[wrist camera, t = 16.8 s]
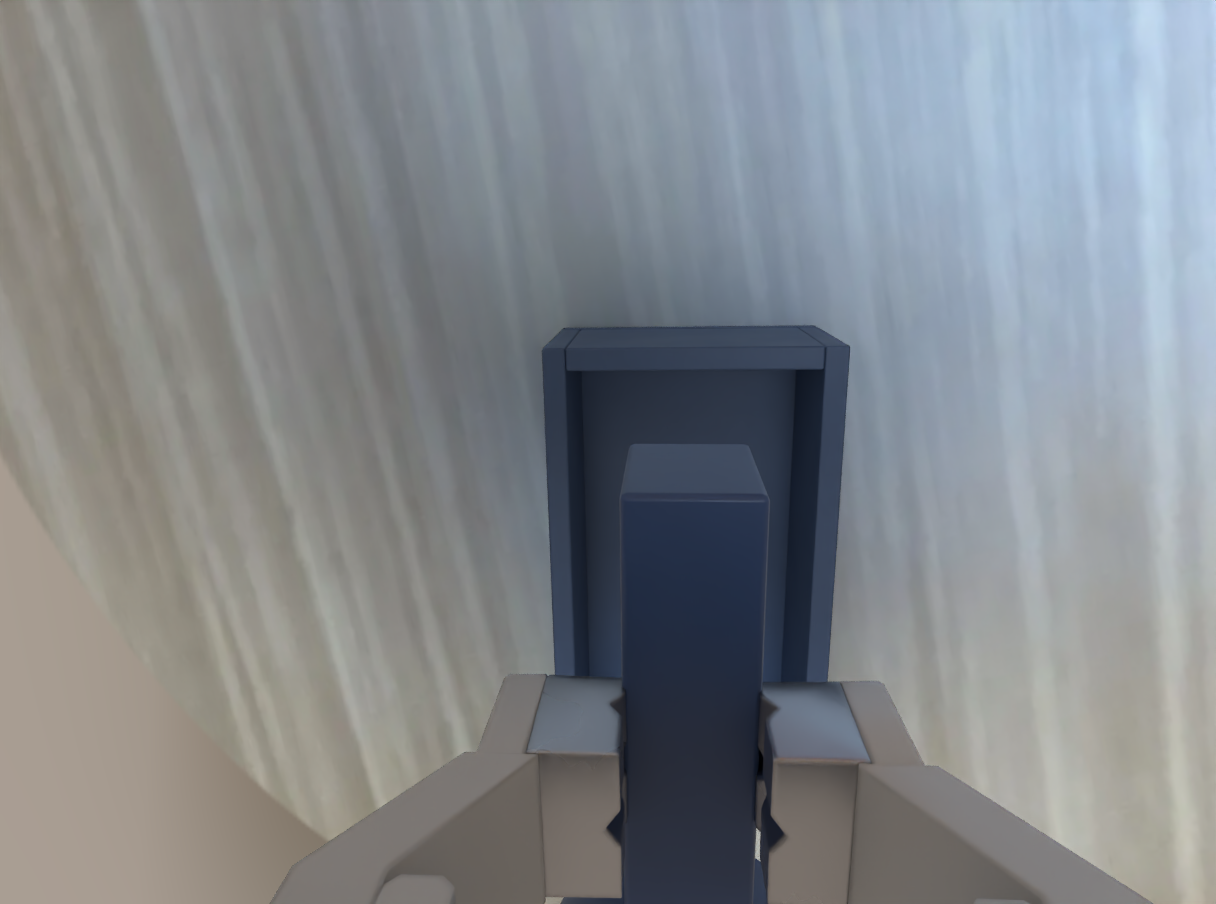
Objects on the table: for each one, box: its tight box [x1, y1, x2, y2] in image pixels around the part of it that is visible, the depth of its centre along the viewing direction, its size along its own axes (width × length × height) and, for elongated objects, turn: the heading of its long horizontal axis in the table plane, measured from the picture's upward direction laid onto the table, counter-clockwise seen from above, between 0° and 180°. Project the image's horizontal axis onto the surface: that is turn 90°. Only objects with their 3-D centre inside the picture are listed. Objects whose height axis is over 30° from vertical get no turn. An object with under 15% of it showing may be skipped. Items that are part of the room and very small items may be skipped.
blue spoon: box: [561, 444, 770, 904], centre depth 11 cm, size 10×4×2 cm, turn 1°
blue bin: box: [542, 326, 850, 682], centre depth 23 cm, size 8×14×4 cm, turn 1°
